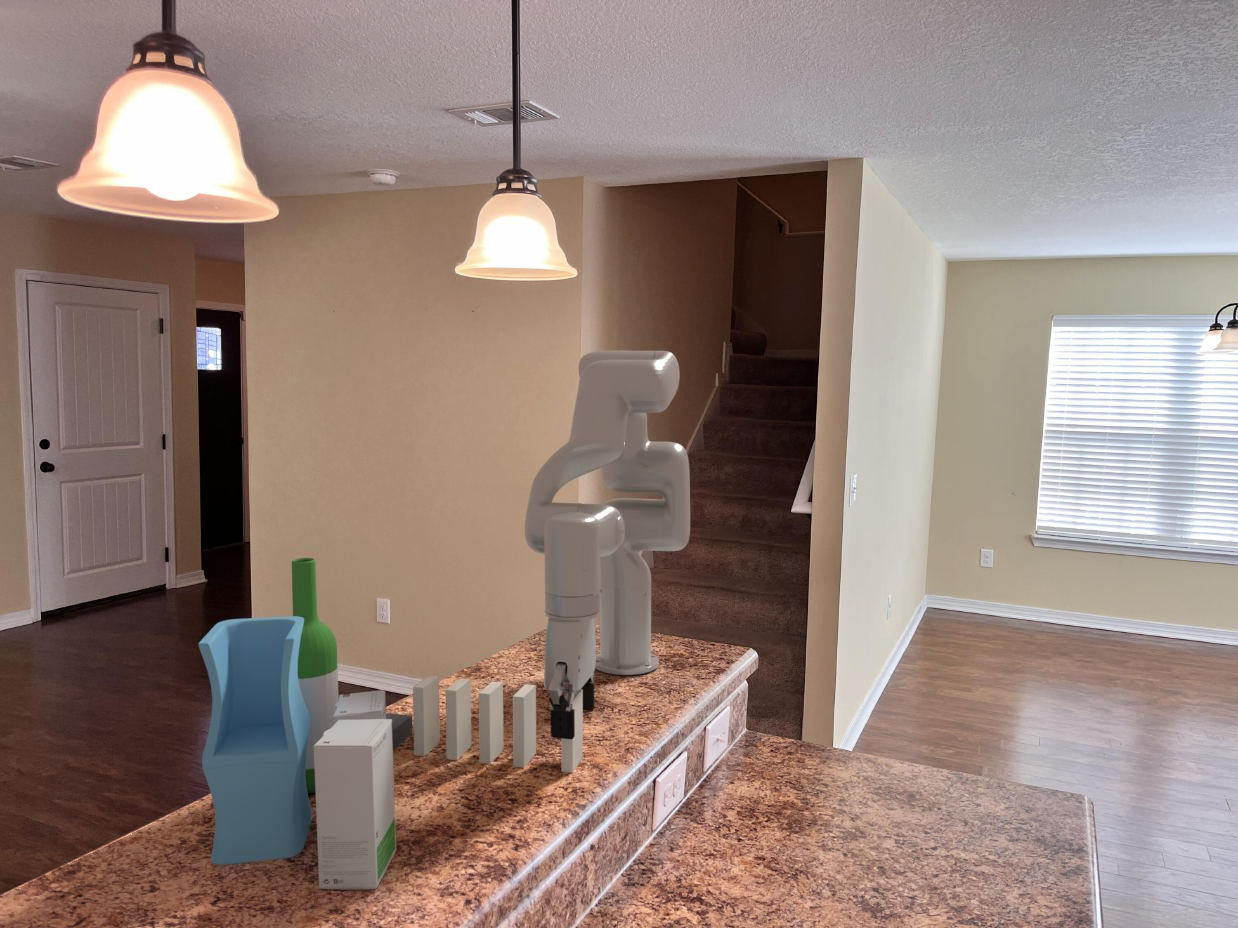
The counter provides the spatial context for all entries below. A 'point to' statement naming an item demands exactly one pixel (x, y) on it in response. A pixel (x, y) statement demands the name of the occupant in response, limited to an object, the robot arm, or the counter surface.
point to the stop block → (400, 728)
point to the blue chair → (256, 740)
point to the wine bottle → (314, 660)
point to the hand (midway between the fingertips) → (573, 722)
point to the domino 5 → (573, 747)
